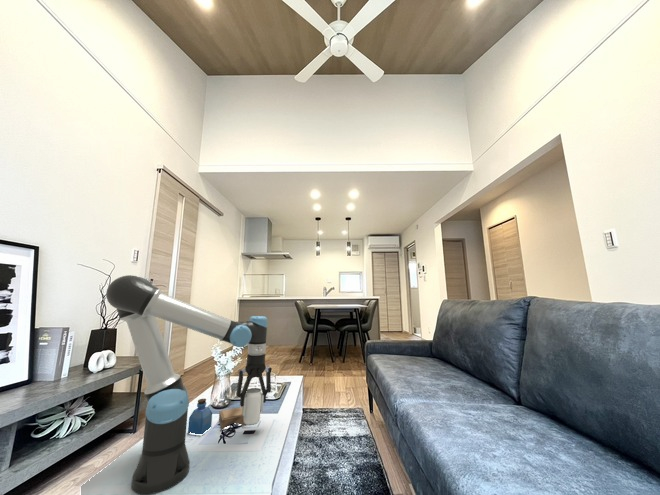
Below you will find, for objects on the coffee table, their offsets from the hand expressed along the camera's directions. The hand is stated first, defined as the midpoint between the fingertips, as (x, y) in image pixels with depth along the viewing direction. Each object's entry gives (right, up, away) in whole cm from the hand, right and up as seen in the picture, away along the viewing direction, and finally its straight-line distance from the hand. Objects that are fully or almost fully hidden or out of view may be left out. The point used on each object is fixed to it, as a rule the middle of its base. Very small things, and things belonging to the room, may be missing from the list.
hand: (252, 412), depth 110 cm
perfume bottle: (-22, -8, 0) cm, 23 cm away
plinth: (-11, -9, +7) cm, 16 cm away
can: (0, -4, 0) cm, 4 cm away
